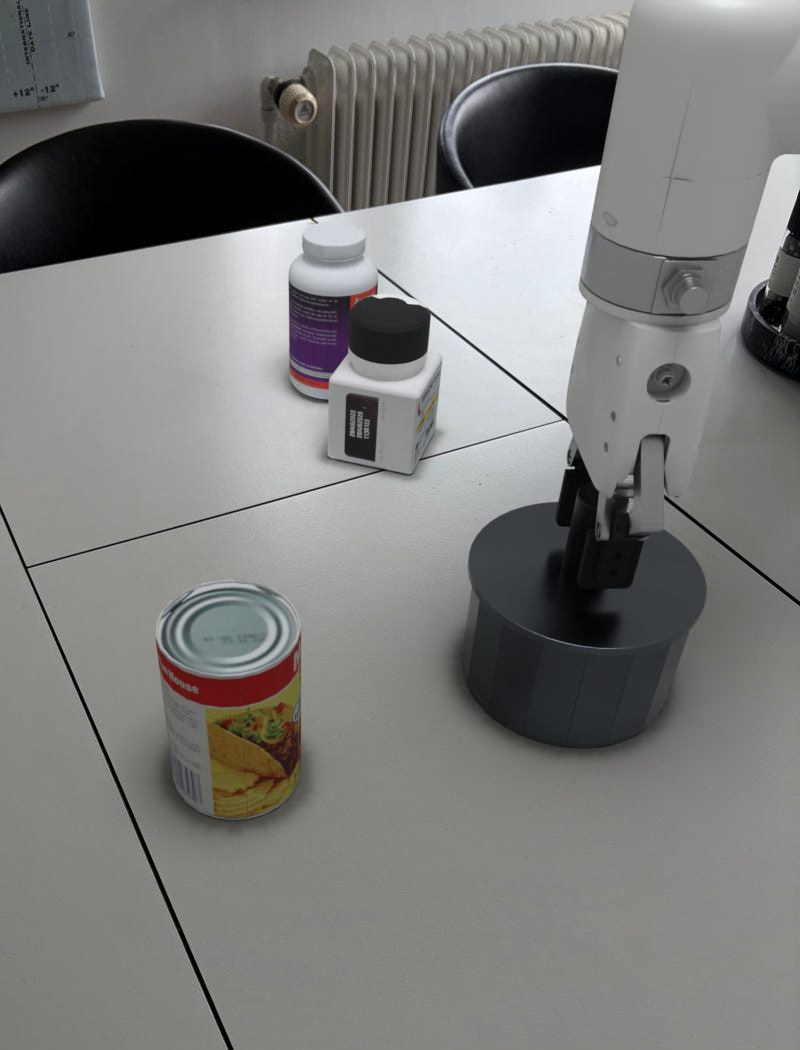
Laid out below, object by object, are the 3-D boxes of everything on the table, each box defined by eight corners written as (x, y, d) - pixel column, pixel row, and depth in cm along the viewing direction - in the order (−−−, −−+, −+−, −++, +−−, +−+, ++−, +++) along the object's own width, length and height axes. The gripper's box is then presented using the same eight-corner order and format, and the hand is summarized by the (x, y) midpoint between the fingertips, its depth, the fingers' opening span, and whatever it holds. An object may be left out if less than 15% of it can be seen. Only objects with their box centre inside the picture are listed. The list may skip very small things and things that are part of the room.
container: (411, 476, 88) (424, 333, 79) (326, 458, 90) (328, 316, 81) (436, 431, 94) (450, 293, 85) (354, 415, 95) (360, 278, 87)
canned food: (327, 770, 64) (331, 625, 56) (231, 843, 60) (221, 698, 52) (241, 704, 68) (234, 560, 60) (146, 769, 64) (125, 624, 56)
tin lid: (664, 514, 71) (689, 428, 67) (734, 662, 60) (770, 572, 56) (452, 516, 71) (462, 430, 66) (485, 666, 60) (500, 575, 55)
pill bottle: (358, 411, 96) (365, 257, 86) (277, 396, 98) (274, 244, 88) (383, 371, 102) (391, 223, 92) (305, 358, 103) (305, 211, 94)
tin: (635, 606, 76) (662, 511, 70) (690, 745, 66) (728, 648, 60) (450, 609, 76) (463, 513, 70) (478, 750, 66) (495, 652, 60)
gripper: (799, 345, 45) (693, 648, 58) (683, 202, 58) (616, 475, 70) (629, 346, 45) (559, 650, 57) (550, 202, 58) (506, 476, 70)
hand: (591, 551), depth 64 cm, fingers open, 5 cm apart
